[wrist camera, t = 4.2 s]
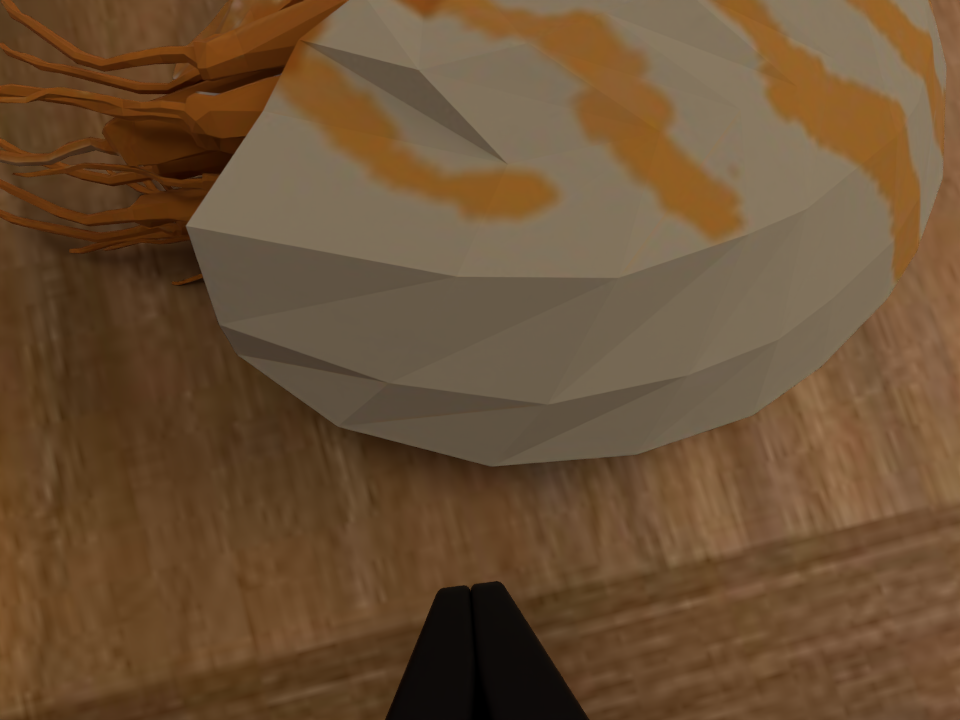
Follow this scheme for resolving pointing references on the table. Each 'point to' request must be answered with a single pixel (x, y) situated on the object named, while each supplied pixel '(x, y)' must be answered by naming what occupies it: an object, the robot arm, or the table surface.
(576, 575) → the table surface
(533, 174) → the nautilus
